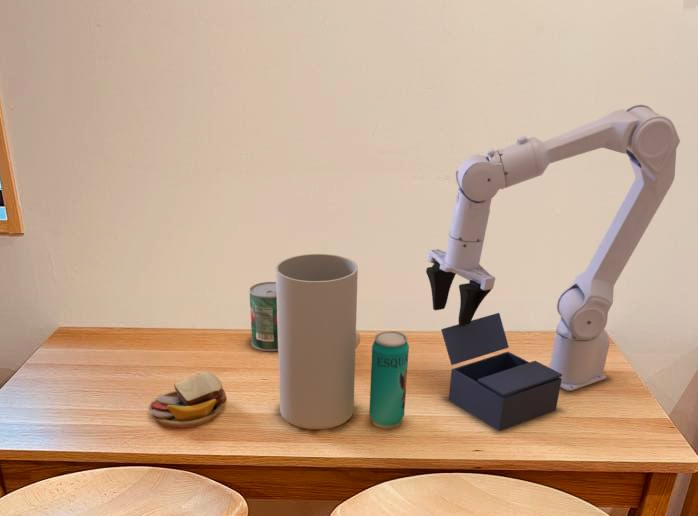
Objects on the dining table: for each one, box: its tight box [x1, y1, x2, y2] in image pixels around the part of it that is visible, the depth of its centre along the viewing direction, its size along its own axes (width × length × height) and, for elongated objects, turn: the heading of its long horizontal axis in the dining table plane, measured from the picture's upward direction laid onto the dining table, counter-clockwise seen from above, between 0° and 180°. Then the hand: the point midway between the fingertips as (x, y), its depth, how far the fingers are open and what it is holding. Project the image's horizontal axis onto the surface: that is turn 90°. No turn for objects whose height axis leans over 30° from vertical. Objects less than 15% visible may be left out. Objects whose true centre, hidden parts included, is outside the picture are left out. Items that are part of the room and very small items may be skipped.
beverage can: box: [369, 330, 410, 430], centre depth 136 cm, size 6×6×15 cm
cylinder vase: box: [275, 253, 359, 430], centre depth 136 cm, size 12×12×25 cm
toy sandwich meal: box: [147, 371, 227, 428], centre depth 144 cm, size 12×14×5 cm
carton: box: [447, 351, 562, 432], centre depth 143 cm, size 13×13×7 cm
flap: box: [441, 312, 510, 366], centre depth 145 cm, size 6×13×1 cm
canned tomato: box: [248, 281, 278, 352], centre depth 164 cm, size 8×8×11 cm
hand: (451, 316), depth 146 cm, fingers open, 6 cm apart
